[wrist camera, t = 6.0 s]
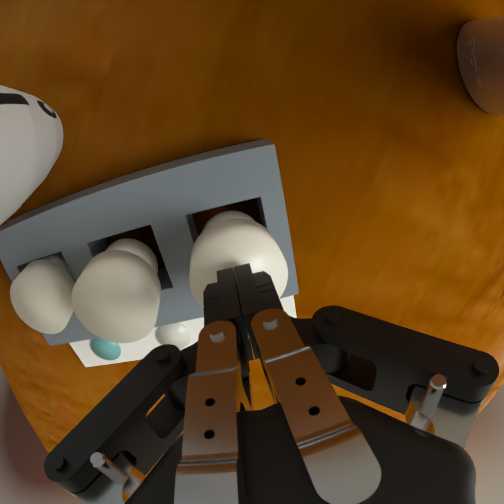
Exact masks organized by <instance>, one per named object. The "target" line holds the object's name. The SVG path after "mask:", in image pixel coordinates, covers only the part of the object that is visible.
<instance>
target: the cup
mask: <svg viewBox="0 0 504 504" xmlns="http://www.w3.org/2000/svg"><path fill="white" fill-rule="evenodd" d="M62 145H63V127H62V123H61V120H60V118H59V116H58V115H57V113H56V112H55V111H54V110H53V109H52V108H51V107H49V106H48V105H47V104H45V103H44V102H43V101H41V100H40V99H39V98H37V97H35V96H33V95H31V94H27V93H24V92H21V91H18V90H15V89H12V88H8V87H5V86H1V85H0V225H1V224H2V223H3V222H4V221H6V220H7V219H8V218H9V217H10V216H11V215H12V214H13V213H15V212H16V211H17V210H18V209H19V207H20V206H21V205H22V204H23V203H24V202H25V201H26V199H27V198H28V197H29V196H30V195H31V194H32V193H33V192H34V191H35V189H36V188H37V187H38V186H39V185H40V184H41V183H42V182H43V181H44V179H45V178H46V177H47V175H48V173H49V172H50V170H51V168H52V167H53V165H54V163H55V162H56V160H57V158H58V157H59V155H60V152H61V149H62Z"/></svg>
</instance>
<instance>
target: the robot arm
mask: <svg viewBox="0 0 504 504" xmlns="http://www.w3.org/2000/svg"><path fill="white" fill-rule="evenodd" d="M457 59H458V65H459V69H460V73H461V76H462V79H463V82H464V84H465V86H466V89H467V91H468V93H469V94H470V96H471V97H472V99H473V101H474V102H475V103H476V104H477V105H478V106H479V107H480V108H481V109H482V110H484V111H485V112H488V113H490V114H495V115H499V116H504V17H501V18H489V19H480V20H472V21H469V22H466V23H465V24H464V25H463V26H462V28H461V30H460V32H459V34H458V39H457ZM234 271H235V275H234ZM234 271H233V268H232V267H231V268H227V269H222V270H218V271H217V282H215V283H211V284H207V286H206V288H205V290H204V291H203V300H204V301H203V306H204V327H203V329H202V330H201V331H200V333H199V337H198V341H197V342H196V343H194V344H193V345H191V346H189V347H187V348H184V349H182V350H180V349H179V348H178V347H177V346H175V345H172V344H164V345H160V346H158V347H156V348H154V349H153V350H151V351H150V352H149V353H148V354H147V355H146V356H145V357H144V358H143V359H142V360H141V361H140V362H139V363H138V364H137V365H136V366H135V367H134V368H133V369H132V370H131V371H130V372H129V373H128V374H127V375H126V376H125V377H124V378H123V379H122V380H121V381H120V382H119V383H118V384H117V385H116V386H115V387H114V388H113V389H112V390H111V391H110V392H109V393H108V394H107V395H106V396H105V397H104V398H103V399H102V400H101V401H100V402H99V403H98V404H97V405H96V406H95V407H94V409H93V410H92V411H91V412H90V413H89V414H88V415H87V416H86V417H85V418H84V419H83V420H82V421H81V422H80V423H79V424H78V425H77V426H76V427H75V428H74V429H73V430H72V431H71V432H70V433H69V434H68V435H67V436H66V437H65V438H64V439H63V440H62V441H61V442H60V443H59V444H58V445H57V446H56V447H55V448H54V449H53V450H52V451H51V452H50V453H49V454H48V456H47V457H46V460H45V463H44V469H45V473H46V475H47V477H48V478H49V479H50V480H52V481H53V482H55V483H56V484H58V485H59V486H61V487H63V488H64V490H66V491H67V492H68V493H70V494H72V495H73V496H75V497H77V498H78V499H79V500H80V501H81V503H82V504H476V503H475V483H476V472H475V467H474V464H473V461H472V459H471V457H470V456H469V454H468V453H467V452H466V451H465V450H464V448H465V445H466V443H467V440H468V438H469V435H470V433H471V430H472V427H473V424H474V422H475V419H476V416H477V413H478V410H479V408H480V406H481V405H482V403H483V401H484V400H485V398H486V396H487V395H488V393H489V391H490V390H491V388H492V386H493V384H494V382H495V381H496V379H497V377H498V374H499V366H498V363H497V361H496V360H495V359H494V358H493V357H492V356H491V355H490V354H488V353H485V352H482V351H479V350H476V349H472V348H469V347H466V346H462V345H459V344H456V343H453V342H449V341H446V340H443V339H440V338H436V337H433V336H430V335H427V334H424V333H420V332H417V331H414V330H411V329H408V328H405V327H402V326H398V325H395V324H392V323H389V322H386V321H383V320H380V319H377V318H374V317H371V316H368V315H365V314H362V313H359V312H356V311H352V310H349V309H346V308H343V307H340V306H326V307H323V308H321V309H319V310H317V311H316V312H315V313H314V315H313V317H312V318H311V319H299V318H294V317H291V316H289V315H288V314H287V313H286V312H285V311H284V309H283V307H282V304H281V301H280V299H279V296H278V294H277V291H276V289H275V286H274V284H273V281H272V278H271V276H270V275H269V274H267V273H266V272H265V271H261V272H257V273H252V270H251V267H250V263H247V264H243V265H239V266H235V267H234ZM235 277H236V279H235ZM249 338H250V339H249ZM250 342H251V344H250ZM251 345H252V349H253V352H254V356H255V359H258V358H260V361H261V364H262V368H263V372H264V375H265V378H266V381H267V384H268V386H269V389H270V392H271V395H272V398H273V400H274V403H275V404H273V405H271V406H269V407H267V408H265V409H263V410H255V411H254V405H253V394H252V384H251V375H250V367H249V361H250V360H254V358H253V353H252V349H251ZM331 383H332V384H334V385H336V386H338V387H341V388H343V389H345V390H347V391H350V392H352V393H354V394H356V395H359V396H361V397H363V398H366V399H368V400H370V401H373V402H375V403H377V404H380V405H382V406H385V407H387V408H390V409H392V410H394V411H397V412H399V413H402V414H405V418H406V421H407V423H408V424H407V423H405V422H402V421H400V420H398V419H396V418H393V417H391V416H389V415H387V414H385V413H382V412H380V411H378V410H376V409H374V408H372V407H369V406H367V405H365V404H363V403H361V402H359V401H357V400H354V399H351V398H348V397H343V396H337V394H336V392H335V390H334V388H333V386H332V385H331ZM163 394H164V395H165V397H164V398H163V399H162V400H161V401H160V402H159V403H158V404H157V406H156V407H155V408H154V409H153V410H152V411H151V412H150V413H149V415H148V416H147V417H146V414H147V412H148V411H149V409H150V408H151V407H152V406H153V405H154V404H155V403H156V402H157V401H158V399H159V398H160V397H161V396H162V395H163ZM182 431H183V434H182V435H180V433H181V432H182ZM179 435H180V436H179ZM178 436H179V437H178ZM177 437H178V438H177ZM176 438H177V439H176ZM171 444H172V445H171ZM168 448H169V449H168ZM167 449H168V450H167ZM166 450H167V451H166ZM164 453H165V454H164ZM163 454H164V455H163ZM162 455H163V456H162ZM161 456H162V458H161ZM160 458H161V459H160ZM159 459H160V460H159ZM158 460H159V461H158ZM157 461H158V463H157V464H156V465H155V463H156V462H157ZM154 465H155V466H154ZM153 466H154V468H153V469H152V470H151V472H150V473H149V474H148V475H147V477H146V478H145V475H146V474H147V473H148V472H149V470H150V469H151V468H152V467H153Z"/></svg>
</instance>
